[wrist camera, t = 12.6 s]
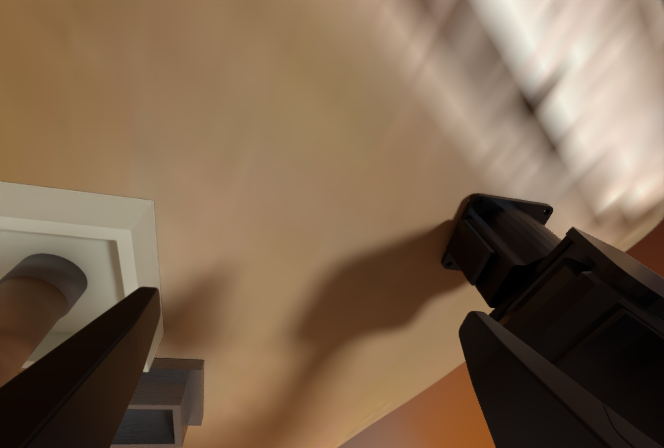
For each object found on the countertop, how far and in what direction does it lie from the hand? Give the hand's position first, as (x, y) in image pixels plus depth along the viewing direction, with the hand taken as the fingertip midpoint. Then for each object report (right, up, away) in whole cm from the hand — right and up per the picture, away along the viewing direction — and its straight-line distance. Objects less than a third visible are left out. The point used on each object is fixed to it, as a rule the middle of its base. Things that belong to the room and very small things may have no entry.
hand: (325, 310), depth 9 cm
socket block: (-17, -13, +21) cm, 30 cm away
